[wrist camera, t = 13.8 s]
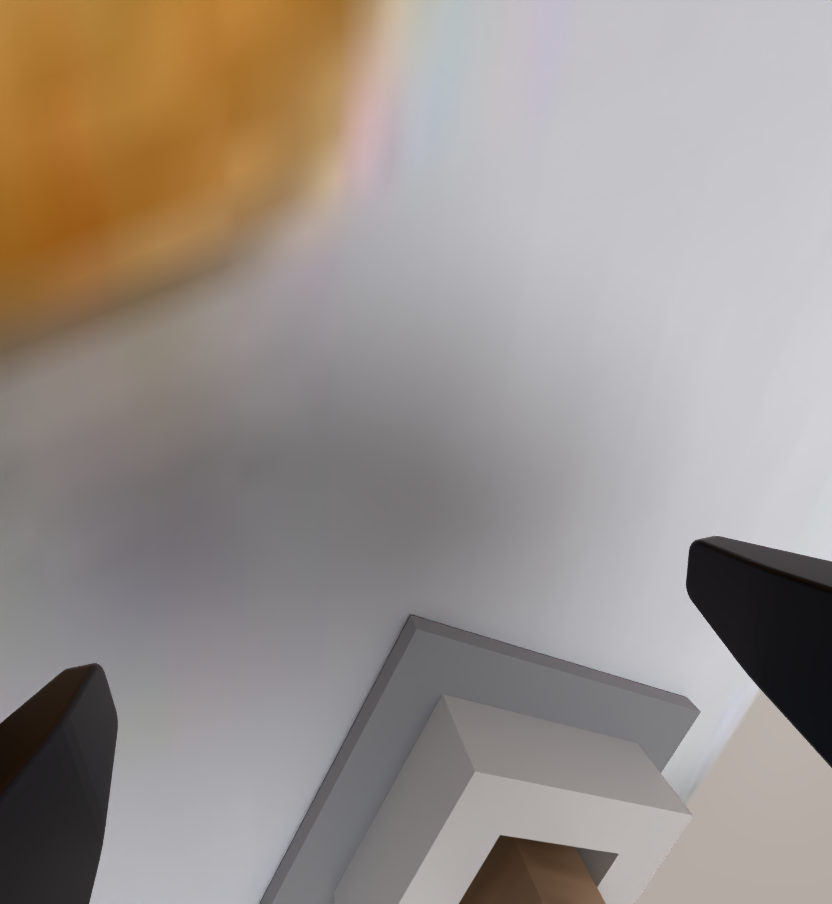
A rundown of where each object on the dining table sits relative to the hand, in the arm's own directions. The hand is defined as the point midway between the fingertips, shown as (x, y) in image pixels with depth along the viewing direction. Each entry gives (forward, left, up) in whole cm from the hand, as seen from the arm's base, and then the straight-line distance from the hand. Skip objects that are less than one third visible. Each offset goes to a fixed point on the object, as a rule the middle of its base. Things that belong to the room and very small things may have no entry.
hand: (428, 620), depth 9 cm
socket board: (+5, -20, -13) cm, 24 cm away
